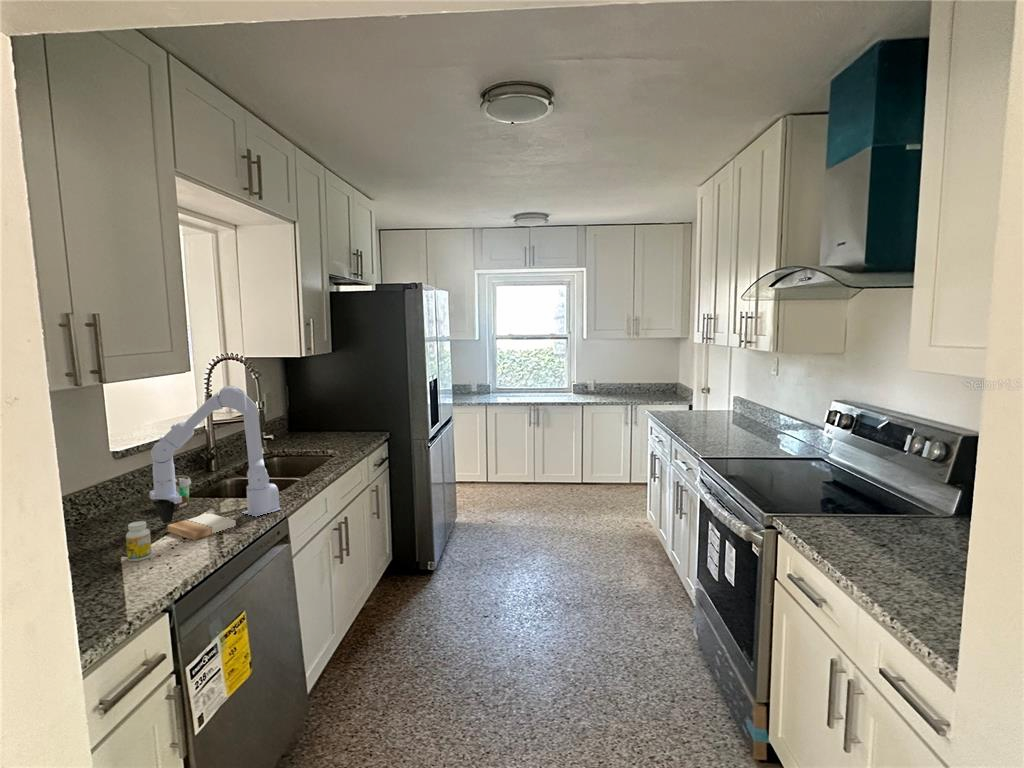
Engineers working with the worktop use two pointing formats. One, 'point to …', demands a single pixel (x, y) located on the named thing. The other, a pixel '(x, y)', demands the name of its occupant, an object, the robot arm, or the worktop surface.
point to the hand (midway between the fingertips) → (167, 522)
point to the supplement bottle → (138, 541)
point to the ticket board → (213, 522)
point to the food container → (182, 489)
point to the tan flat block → (189, 529)
